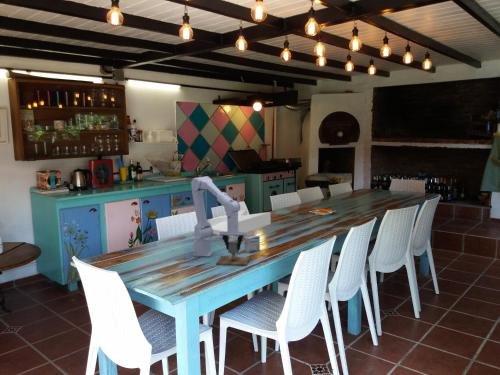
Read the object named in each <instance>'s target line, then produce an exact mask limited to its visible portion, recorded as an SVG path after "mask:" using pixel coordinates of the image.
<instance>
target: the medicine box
mask: <svg viewBox="0 0 500 375" xmlns="http://www.w3.org/2000/svg"><path fill="white" fill-rule="evenodd" d="M243 239H244V240H243V241H244V252H245V253H248V254H253V253H257V252H260V250H261V249H260V247H261V245H260V244H261V243H260V241H261V240H260V239H261V238H260V236H259V235H257V234H256V235H255V234H254V235H250V236H246V237H243Z"/></svg>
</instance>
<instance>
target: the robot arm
mask: <svg viewBox="0 0 500 375" xmlns="http://www.w3.org/2000/svg"><path fill="white" fill-rule="evenodd" d="M190 185H191V193H192V200H193V205H194V212H195V217H196V221H197V222H196V224H195V226H194V231H193V234H194V240H193V242H192V243H193V244H192V248H193V249H192V250H193V257H210V256H211V255H212V254H213V253H214V251H212V248H211V239H212V237H213V235H214V234H213V229H212V227H211V224H210V223H209V222H207V220H208V219H207V213H206V209H205V208H206V207H205V202H204V195H203V194H204V192H205V191H206V190H208V191H209V192H210V193H212V195H213V196H215V197H216V200H217V202H218V203H219V204H220V205H221V206H223V207H224V211H225V213H226V214H225V215H227V229H228V231H226V232H219V235H218V236H219V237H222V241H223V242H224V244H225V247H226V248H225V249H226V250H227V251H228V242H230V241H229V238H230V237H229V236H235V237H237V242H238V250H239V251H240V250H241V245H242V242H243V239H244V237H248V234H247V233H248V232H238V211H241V210H240V209H241V204H240V203H239V202H238V201H237V200H235V199H233V198H231V197H230V196H229V195H228V193H227V192H223V191H221V190H220V189H219V188H218V187H217V186H216V184H214V182H213V179H212V178H211V177H210V176H207V175H205V176H200V177H194V178H192V180H191V182H190Z"/></svg>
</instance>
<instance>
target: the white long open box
mask: <svg viewBox="0 0 500 375" xmlns="http://www.w3.org/2000/svg"><path fill="white" fill-rule="evenodd" d="M271 220H272V218H271V211H269V212H260V213H252V214H248V211H247V209H246V208H245V209H242V210H239V211H238V232H247V233H249V232H251V231H255V230H258V229H260V228H264V227H267V226H269V225H272V224H271V222H272V221H271ZM207 222H209V223H210V224H211V227H212V229H213V235H218V236H219V232H226V231H228V229H227V215H226V214H224V215H220V216H217V217H212V218H209V219H207ZM235 237H236V236H229V238H235Z"/></svg>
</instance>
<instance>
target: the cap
mask: <svg viewBox="0 0 500 375" xmlns="http://www.w3.org/2000/svg"><path fill="white" fill-rule="evenodd" d="M227 251H228V253H229V254H232V253H233V254H234V253H235V254H237V253H239V252H240V250H238V241H236V240H235V241H229V242H228V250H227Z"/></svg>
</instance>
